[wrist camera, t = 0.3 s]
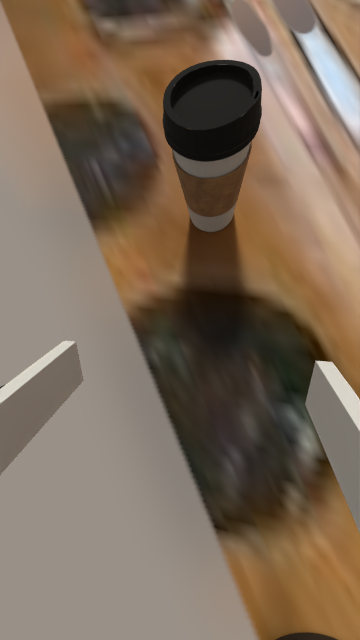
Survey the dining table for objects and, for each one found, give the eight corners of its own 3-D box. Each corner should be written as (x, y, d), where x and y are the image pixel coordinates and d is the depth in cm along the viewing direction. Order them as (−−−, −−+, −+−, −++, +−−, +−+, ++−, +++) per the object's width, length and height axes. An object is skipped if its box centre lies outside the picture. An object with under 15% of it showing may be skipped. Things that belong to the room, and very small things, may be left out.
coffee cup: (231, 248, 32) (246, 140, 17) (172, 231, 34) (141, 121, 19) (251, 194, 33) (281, 54, 19) (193, 181, 35) (180, 43, 21)
